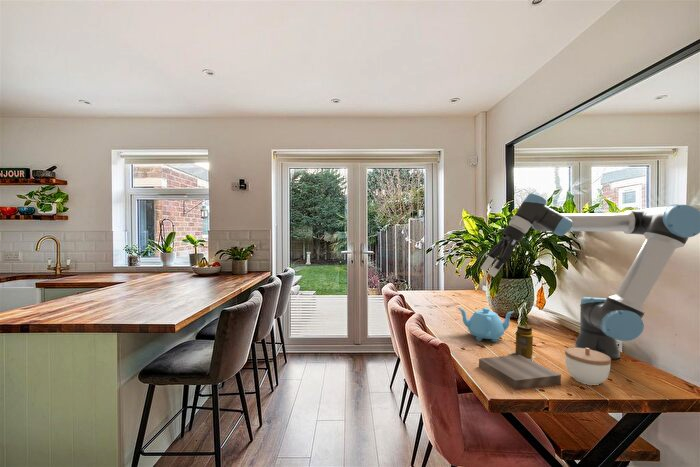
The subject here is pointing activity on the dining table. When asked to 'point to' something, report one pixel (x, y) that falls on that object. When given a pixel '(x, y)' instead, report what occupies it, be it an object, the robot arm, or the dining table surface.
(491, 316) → the teapot
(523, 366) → the grey flat square piece
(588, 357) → the lidded bowl
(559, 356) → the dining table surface
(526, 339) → the condiment
